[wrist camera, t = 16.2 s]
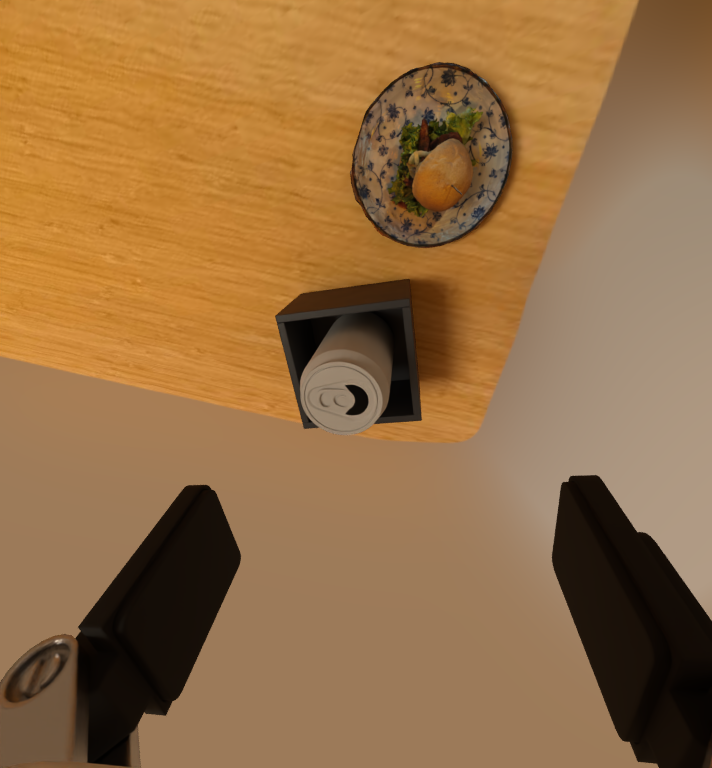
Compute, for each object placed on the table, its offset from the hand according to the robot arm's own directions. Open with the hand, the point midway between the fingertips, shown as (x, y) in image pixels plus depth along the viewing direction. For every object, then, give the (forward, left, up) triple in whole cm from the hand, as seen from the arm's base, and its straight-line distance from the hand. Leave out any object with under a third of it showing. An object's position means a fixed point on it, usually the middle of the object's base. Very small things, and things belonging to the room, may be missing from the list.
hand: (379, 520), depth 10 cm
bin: (+4, -4, -27) cm, 27 cm away
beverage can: (+4, -4, -26) cm, 27 cm away
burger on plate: (-10, +3, -27) cm, 29 cm away
